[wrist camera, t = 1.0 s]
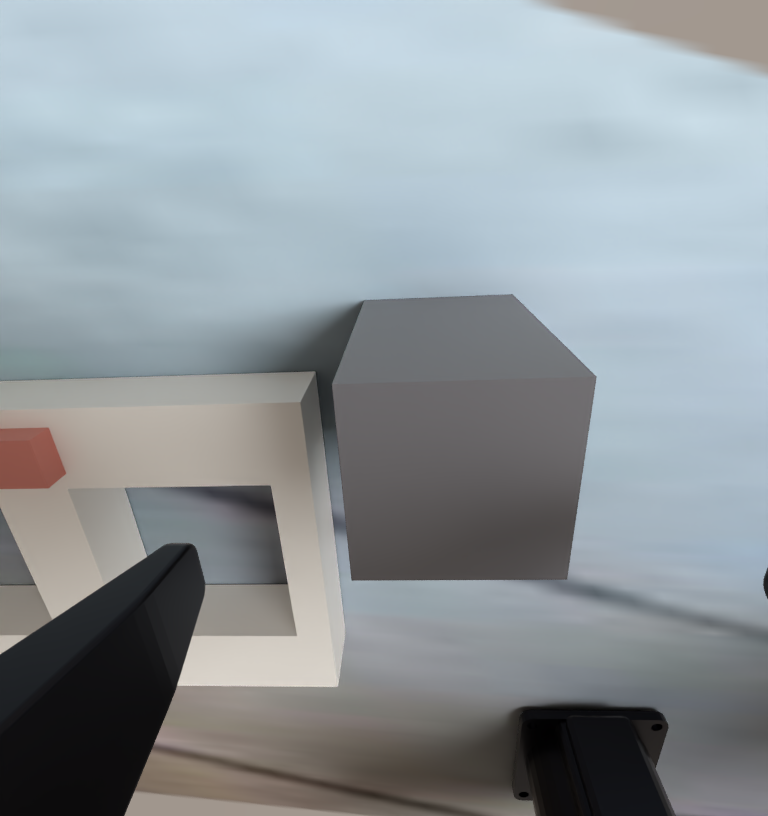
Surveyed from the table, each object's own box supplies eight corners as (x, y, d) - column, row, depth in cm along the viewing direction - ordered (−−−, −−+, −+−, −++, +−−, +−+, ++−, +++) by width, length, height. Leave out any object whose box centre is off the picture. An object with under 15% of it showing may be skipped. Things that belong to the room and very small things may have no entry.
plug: (504, 427, 16) (566, 579, 10) (372, 429, 17) (351, 580, 10) (512, 294, 14) (597, 376, 8) (364, 300, 15) (331, 384, 8)
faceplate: (345, 632, 21) (335, 707, 18) (-47, 631, 22) (-120, 702, 19) (315, 371, 16) (293, 414, 13) (-192, 386, 17) (-324, 429, 14)
